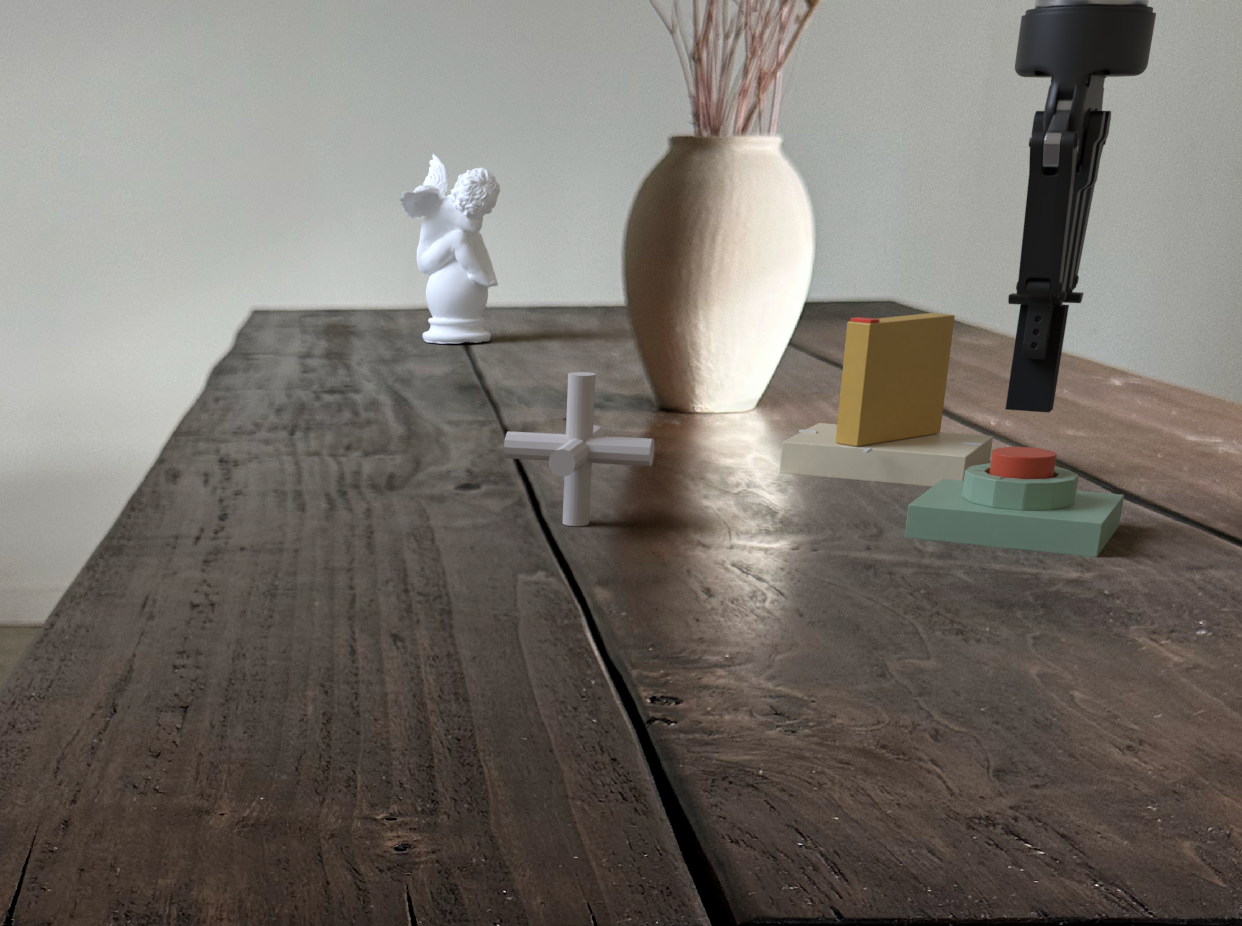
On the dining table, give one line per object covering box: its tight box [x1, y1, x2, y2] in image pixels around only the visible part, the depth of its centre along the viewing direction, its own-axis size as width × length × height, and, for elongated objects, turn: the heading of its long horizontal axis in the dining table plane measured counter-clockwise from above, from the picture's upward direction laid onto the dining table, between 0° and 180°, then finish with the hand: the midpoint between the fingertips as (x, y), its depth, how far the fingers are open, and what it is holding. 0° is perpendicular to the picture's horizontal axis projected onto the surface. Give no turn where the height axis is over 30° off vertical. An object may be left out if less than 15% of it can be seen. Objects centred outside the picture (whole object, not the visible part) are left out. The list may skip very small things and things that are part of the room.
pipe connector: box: [503, 371, 655, 527], centre depth 114 cm, size 10×10×10 cm
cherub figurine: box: [399, 152, 501, 345], centre depth 209 cm, size 12×12×22 cm
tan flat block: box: [835, 312, 956, 446], centre depth 130 cm, size 10×2×9 cm, turn 126°
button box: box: [904, 462, 1125, 558], centre depth 112 cm, size 12×10×4 cm
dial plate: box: [779, 422, 994, 488], centre depth 133 cm, size 14×14×3 cm
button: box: [989, 446, 1057, 479], centre depth 111 cm, size 4×4×2 cm
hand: (1029, 409), depth 110 cm, fingers closed
